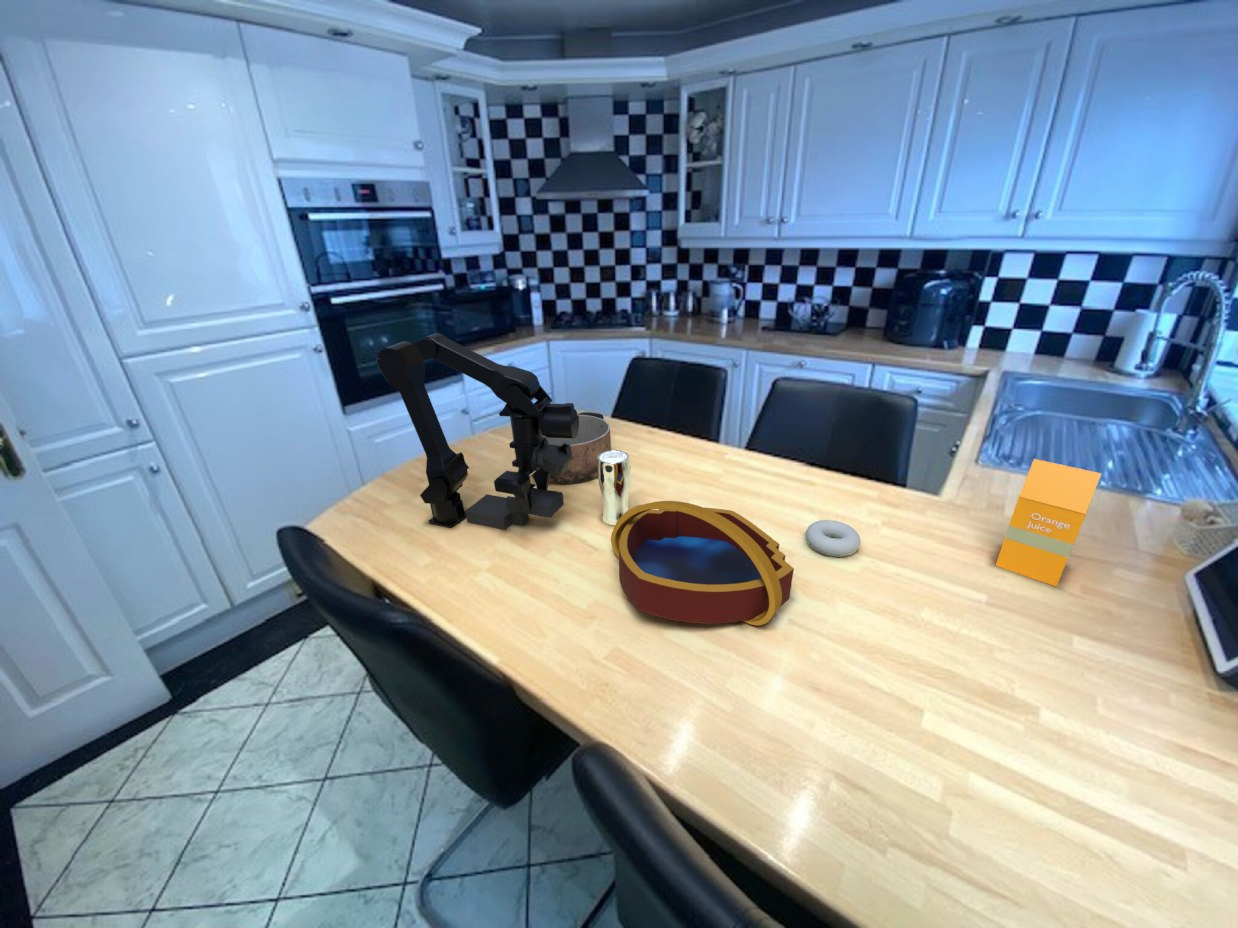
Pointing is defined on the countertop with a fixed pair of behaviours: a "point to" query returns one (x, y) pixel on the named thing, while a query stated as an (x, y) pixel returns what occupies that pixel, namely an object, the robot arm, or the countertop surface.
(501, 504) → the dock pad
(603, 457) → the beer glass
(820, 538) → the donut
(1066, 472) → the orange juice
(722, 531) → the decorative basket
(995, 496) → the countertop surface
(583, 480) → the cooking pot
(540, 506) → the black flat notched block
